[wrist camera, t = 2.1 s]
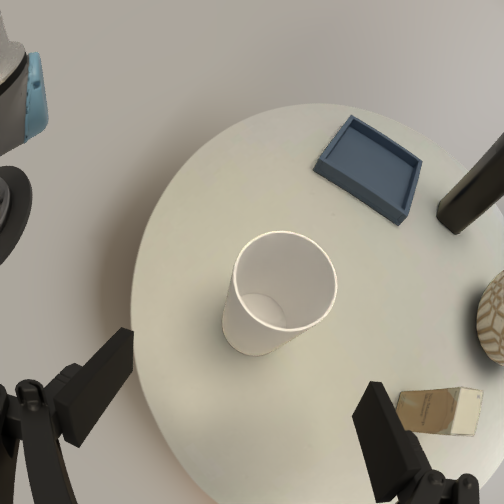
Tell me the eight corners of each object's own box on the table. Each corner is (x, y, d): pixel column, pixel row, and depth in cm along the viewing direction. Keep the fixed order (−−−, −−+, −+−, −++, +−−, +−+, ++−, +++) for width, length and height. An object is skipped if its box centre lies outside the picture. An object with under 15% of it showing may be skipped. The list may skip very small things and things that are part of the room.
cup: (245, 368, 30) (272, 353, 18) (209, 311, 32) (212, 258, 20) (299, 333, 33) (356, 295, 20) (264, 281, 35) (298, 215, 22)
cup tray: (312, 170, 44) (318, 158, 41) (345, 125, 51) (351, 114, 48) (398, 226, 42) (407, 216, 39) (415, 170, 49) (422, 161, 46)
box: (400, 390, 31) (461, 383, 21) (424, 395, 31) (485, 388, 21) (389, 430, 29) (451, 435, 19) (414, 433, 28) (476, 436, 19)
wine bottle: (460, 217, 46) (562, 113, 19) (457, 237, 43) (572, 128, 16) (439, 198, 47) (537, 84, 20) (434, 218, 44) (546, 96, 17)
